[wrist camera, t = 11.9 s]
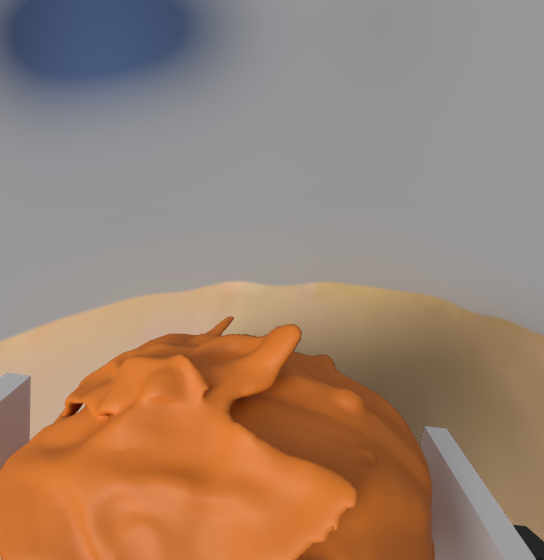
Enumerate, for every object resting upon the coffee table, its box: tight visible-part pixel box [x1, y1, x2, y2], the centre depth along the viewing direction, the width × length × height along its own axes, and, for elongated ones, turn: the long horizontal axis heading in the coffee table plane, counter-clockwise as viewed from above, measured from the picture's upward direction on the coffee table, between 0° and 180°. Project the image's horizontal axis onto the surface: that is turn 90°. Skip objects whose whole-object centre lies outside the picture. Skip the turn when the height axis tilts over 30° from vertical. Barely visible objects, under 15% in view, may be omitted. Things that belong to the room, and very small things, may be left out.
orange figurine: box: [0, 317, 435, 560], centre depth 14 cm, size 11×11×18 cm
